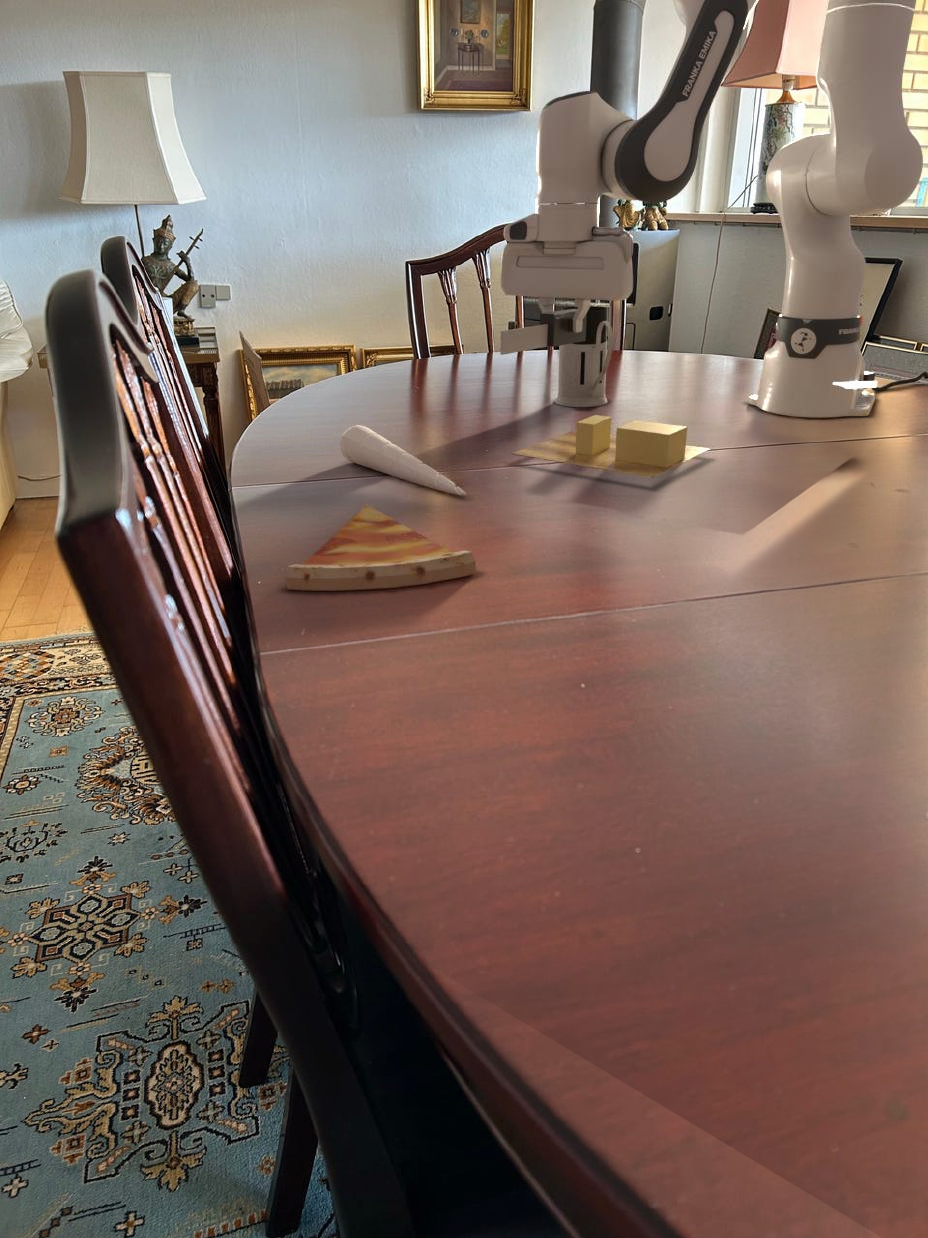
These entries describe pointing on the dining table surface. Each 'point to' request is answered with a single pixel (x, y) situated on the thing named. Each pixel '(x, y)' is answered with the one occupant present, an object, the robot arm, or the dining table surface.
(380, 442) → the unicorn horn
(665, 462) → the butter
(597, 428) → the block
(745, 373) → the dining table surface
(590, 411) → the dining table surface
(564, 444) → the board
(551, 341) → the knife
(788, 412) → the robot arm
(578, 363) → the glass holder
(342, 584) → the pizza slice
